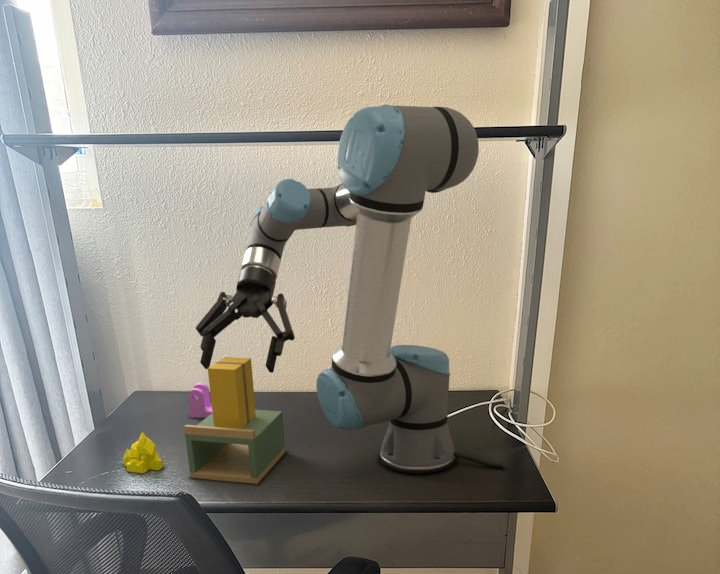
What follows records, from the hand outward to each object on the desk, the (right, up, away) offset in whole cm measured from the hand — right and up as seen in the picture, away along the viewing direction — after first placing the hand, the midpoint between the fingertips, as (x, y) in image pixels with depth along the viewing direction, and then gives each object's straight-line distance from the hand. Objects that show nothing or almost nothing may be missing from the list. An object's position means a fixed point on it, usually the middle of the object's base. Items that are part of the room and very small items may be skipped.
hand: (236, 367), depth 137 cm
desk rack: (0, -19, +6) cm, 20 cm away
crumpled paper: (-20, -19, +6) cm, 29 cm away
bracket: (-10, -6, +34) cm, 36 cm away
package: (-1, -10, +2) cm, 11 cm away
